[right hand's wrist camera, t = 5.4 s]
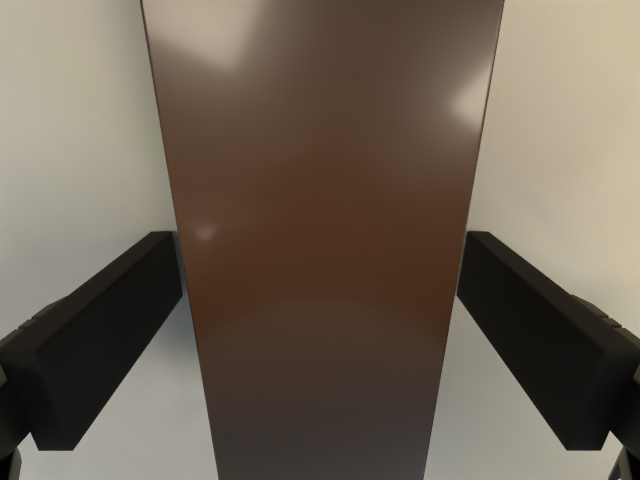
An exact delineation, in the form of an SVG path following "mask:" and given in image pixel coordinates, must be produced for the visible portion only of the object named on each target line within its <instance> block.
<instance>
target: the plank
mask: <svg viewBox="0 0 640 480" xmlns="http://www.w3.org/2000/svg"><path fill="white" fill-rule="evenodd" d="M504 1H505V0H140V5H141V11H142V17H143V23H144V29H145V35H146V41H147V47H148V53H149V59H150V65H151V72H152V78H153V84H154V90H155V96H156V102H157V108H158V114H159V120H160V126H161V132H162V138H163V144H164V150H165V156H166V163H167V169H168V175H169V181H170V187H171V193H172V199H173V205H174V211H175V217H176V223H177V229H178V235H179V241H180V247H181V254H182V260H183V266H184V272H185V278H186V284H187V290H188V296H189V302H190V308H191V314H192V320H193V326H194V332H195V339H196V345H197V351H198V357H199V363H200V369H201V375H202V381H203V387H204V393H205V399H206V405H207V411H208V417H209V423H210V430H211V436H212V442H213V448H214V454H215V460H216V466H217V472H218V478H219V480H423V478H424V472H425V466H426V460H427V454H428V448H429V443H430V437H431V431H432V425H433V419H434V413H435V407H436V401H437V395H438V390H439V384H440V378H441V372H442V366H443V360H444V354H445V348H446V343H447V337H448V331H449V325H450V319H451V313H452V307H453V301H454V295H455V290H456V284H457V278H458V272H459V266H460V260H461V254H462V248H463V242H464V237H465V231H466V225H467V219H468V213H469V207H470V201H471V195H472V189H473V184H474V178H475V172H476V166H477V160H478V154H479V148H480V142H481V136H482V131H483V125H484V119H485V113H486V107H487V101H488V95H489V89H490V83H491V78H492V72H493V66H494V60H495V54H496V48H497V42H498V36H499V30H500V25H501V19H502V13H503V7H504Z"/></svg>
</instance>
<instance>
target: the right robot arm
mask: <svg viewBox="0 0 640 480" xmlns="http://www.w3.org/2000/svg"><path fill="white" fill-rule="evenodd" d="M182 296H183V293H182V287H181V282H180V276H179V270H178V264H177V259H176V253H175V247H174V241H173V236H172V232H150V233H149V234H148V235H146V236H145V237H144V238H143V239H141V240H140V241H139V242H137V243H136V244H135V245H133V246H132V247H131V248H130V249H128V250H127V251H126V252H124V253H123V254H122V255H120V256H119V257H118V258H117V259H115V260H114V261H113V262H111V263H110V264H109V265H107V266H106V267H105V268H104V269H102V270H101V271H100V272H98V273H97V274H96V275H94V276H93V277H92V278H90V279H89V280H88V281H87V282H85V283H84V284H83V285H81V286H80V287H79V288H77V289H76V290H75V291H74V292H72V293H71V294H70V295H68V296H66V297H64V298H62V299H60V300H58V301H56V302H54V303H52V304H50V305H47V306H46V307H45V308H43V309H42V310H41V311H39V312H38V313H37V314H35V315H34V316H33V317H32V319H31V320H27V321H26V322H25V323H23V324H22V325H20V326H19V327H18V330H14V331H12V332H11V333H10V334H8V335H7V336H6V337H4V338H3V339H2V340H0V480H19V475H20V469H21V463H22V460H21V454H20V452H19V450H18V448H17V446H18V445H19V444H20V443H21V442H22V440H23V439H24V438H25V437H26V436H27V435H28V434H29V432H31V434H32V437H33V439H34V441H35V443H36V446H37V448H38V450H39V451H73V450H74V448H75V447H76V445H77V444H78V443H79V441H80V440H81V438H82V437H83V436H84V434H85V433H86V431H87V430H88V429H89V427H90V426H91V424H92V423H93V422H94V420H95V419H96V417H97V416H98V414H99V413H100V412H101V410H102V409H103V407H104V406H105V405H106V403H107V402H108V400H109V399H110V398H111V396H112V395H113V393H114V392H115V390H116V389H117V388H118V386H119V385H120V383H121V382H122V381H123V379H124V378H125V376H126V375H127V374H128V372H129V371H130V369H131V368H132V366H133V365H134V364H135V362H136V361H137V359H138V358H139V357H140V355H141V354H142V352H143V351H144V350H145V348H146V347H147V345H148V344H149V343H150V341H151V340H152V338H153V337H154V335H155V334H156V333H157V331H158V330H159V328H160V327H161V326H162V324H163V323H164V321H165V320H166V319H167V317H168V316H169V314H170V313H171V311H172V310H173V309H174V307H175V306H176V304H177V303H178V302H179V300H180V299H181V297H182ZM457 296H458V298H459V299H460V301H461V302H462V303H463V305H464V306H465V308H466V309H467V310H468V312H469V313H470V315H471V316H472V317H473V319H474V320H475V322H476V323H477V325H478V326H479V327H480V329H481V330H482V332H483V333H484V334H485V336H486V337H487V339H488V340H489V341H490V343H491V344H492V346H493V347H494V349H495V350H496V351H497V353H498V354H499V356H500V357H501V358H502V360H503V361H504V363H505V364H506V365H507V367H508V368H509V370H510V371H511V373H512V374H513V375H514V377H515V378H516V380H517V381H518V382H519V384H520V385H521V387H522V388H523V389H524V391H525V392H526V394H527V395H528V397H529V398H530V399H531V401H532V402H533V404H534V405H535V406H536V408H537V409H538V411H539V412H540V413H541V415H542V416H543V418H544V419H545V420H546V422H547V423H548V425H549V426H550V428H551V429H552V430H553V432H554V433H555V435H556V436H557V437H558V439H559V440H560V442H561V443H562V444H563V446H564V447H565V449H566V450H567V451H601V449H602V447H603V445H604V442H605V440H606V438H607V436H608V433H609V431H611V432H612V433H613V434H614V435H615V436H616V438H617V439H618V440H619V441H620V442H621V443H622V444H623V445H624V446H623V448H622V450H621V452H620V454H619V456H618V458H617V460H616V462H615V465H614V467H613V469H612V471H611V473H610V475H609V477H608V480H618V479H620V478H621V480H640V339H639V338H638V337H636V336H635V335H634V334H632V333H631V332H630V331H628V330H627V329H626V328H622V325H620V324H619V323H618V322H616V321H615V320H613V319H612V318H609V316H608V315H607V314H605V313H604V312H603V311H601V310H600V309H599V308H597V307H596V306H595V305H593V304H591V303H589V302H587V301H585V300H583V299H581V298H579V297H577V296H575V295H570V294H569V293H567V292H566V291H565V290H564V289H562V288H561V287H560V286H558V285H557V284H556V283H554V282H553V281H552V280H551V279H549V278H548V277H547V276H545V275H544V274H543V273H541V272H540V271H539V270H538V269H536V268H535V267H534V266H532V265H531V264H530V263H528V262H527V261H526V260H524V259H523V258H522V257H521V256H519V255H518V254H517V253H515V252H514V251H513V250H511V249H510V248H509V247H508V246H506V245H505V244H504V243H502V242H501V241H500V240H498V239H497V238H496V237H495V236H493V235H492V234H491V233H489V232H468V234H467V240H466V245H465V251H464V257H463V263H462V268H461V274H460V280H459V286H458V292H457Z"/></svg>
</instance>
